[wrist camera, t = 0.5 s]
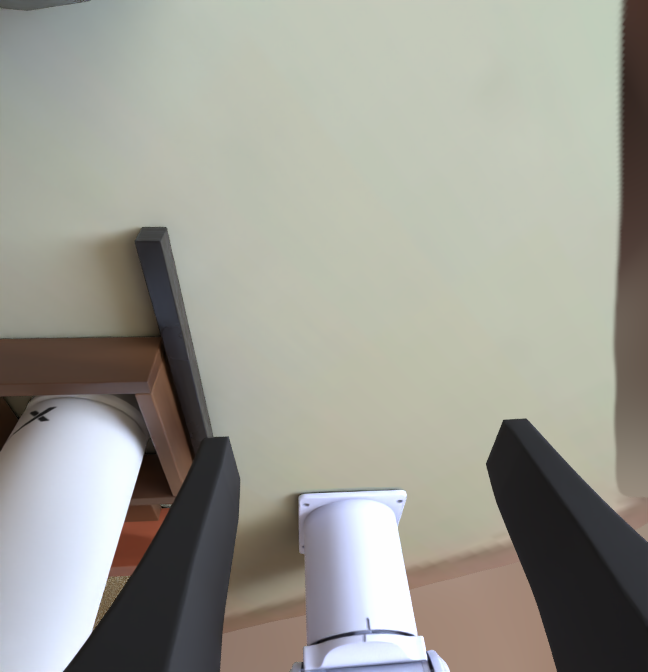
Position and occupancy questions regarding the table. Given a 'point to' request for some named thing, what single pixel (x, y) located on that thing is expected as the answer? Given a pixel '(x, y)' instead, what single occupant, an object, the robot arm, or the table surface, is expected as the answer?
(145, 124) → the table surface
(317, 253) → the table surface
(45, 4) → the bottle
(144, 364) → the carrier
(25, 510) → the travel mug
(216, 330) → the table surface
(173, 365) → the rails
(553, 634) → the robot arm
